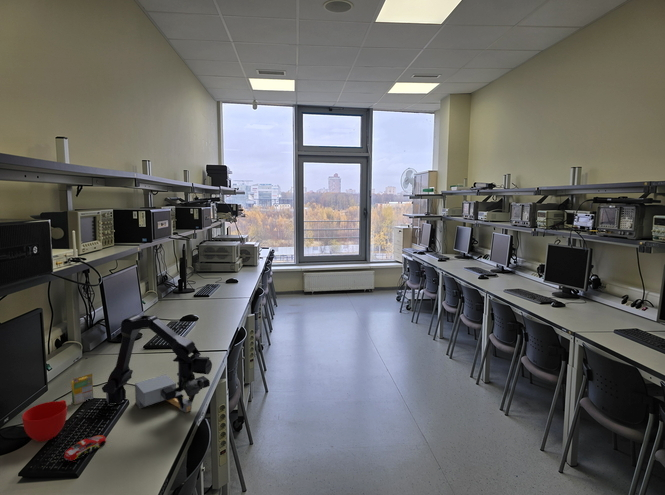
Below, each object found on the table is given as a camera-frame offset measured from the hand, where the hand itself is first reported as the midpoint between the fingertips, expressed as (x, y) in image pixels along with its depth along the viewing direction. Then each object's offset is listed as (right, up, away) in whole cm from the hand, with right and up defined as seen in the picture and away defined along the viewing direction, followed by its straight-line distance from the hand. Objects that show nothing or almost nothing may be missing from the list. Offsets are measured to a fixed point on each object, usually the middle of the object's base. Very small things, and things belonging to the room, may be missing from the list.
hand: (186, 406), depth 159 cm
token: (-7, -1, +9) cm, 11 cm away
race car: (-25, -5, -26) cm, 37 cm away
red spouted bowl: (-44, -2, -18) cm, 47 cm away
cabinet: (-15, -1, +5) cm, 16 cm away
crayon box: (-47, 0, +5) cm, 47 cm away
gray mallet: (-5, -1, +3) cm, 6 cm away
